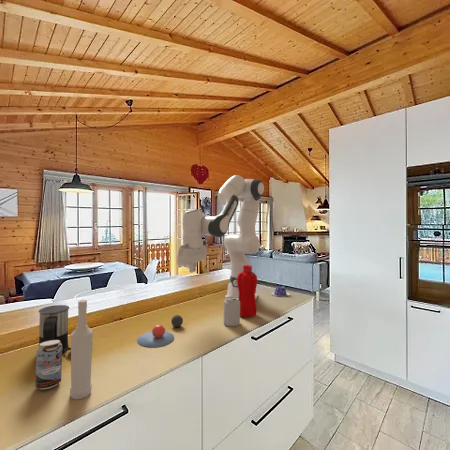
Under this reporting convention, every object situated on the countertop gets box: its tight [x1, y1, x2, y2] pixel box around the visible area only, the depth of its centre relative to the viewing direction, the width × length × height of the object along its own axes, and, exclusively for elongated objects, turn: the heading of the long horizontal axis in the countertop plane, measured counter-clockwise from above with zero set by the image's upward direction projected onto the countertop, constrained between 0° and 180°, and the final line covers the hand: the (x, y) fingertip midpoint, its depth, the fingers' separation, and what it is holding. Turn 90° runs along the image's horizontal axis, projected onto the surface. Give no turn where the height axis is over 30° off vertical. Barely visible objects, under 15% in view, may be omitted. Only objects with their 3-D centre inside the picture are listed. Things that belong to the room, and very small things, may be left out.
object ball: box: [151, 324, 166, 338], centre depth 106 cm, size 5×5×5 cm
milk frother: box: [38, 304, 94, 354], centre depth 94 cm, size 14×16×15 cm
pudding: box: [270, 285, 291, 298], centre depth 174 cm, size 12×12×5 cm
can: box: [223, 296, 241, 328], centre depth 122 cm, size 8×8×12 cm
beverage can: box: [34, 340, 63, 390], centre depth 75 cm, size 6×7×12 cm
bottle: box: [69, 299, 94, 400], centre depth 71 cm, size 5×5×25 cm
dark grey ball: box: [170, 314, 184, 328], centre depth 118 cm, size 5×5×5 cm
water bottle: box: [237, 264, 258, 319], centre depth 134 cm, size 9×11×25 cm
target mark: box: [136, 331, 175, 348], centre depth 105 cm, size 14×14×1 cm
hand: (192, 271), depth 129 cm, fingers closed
